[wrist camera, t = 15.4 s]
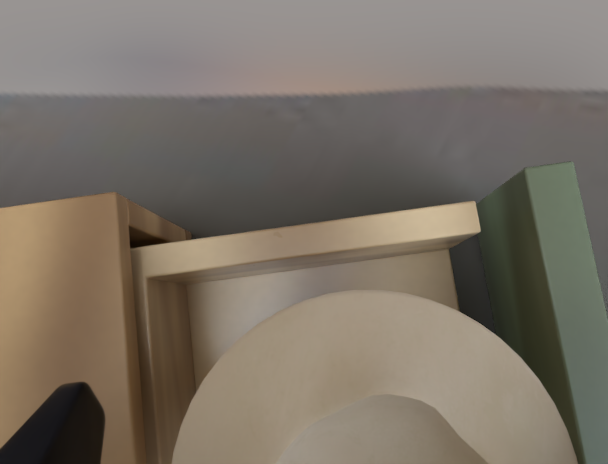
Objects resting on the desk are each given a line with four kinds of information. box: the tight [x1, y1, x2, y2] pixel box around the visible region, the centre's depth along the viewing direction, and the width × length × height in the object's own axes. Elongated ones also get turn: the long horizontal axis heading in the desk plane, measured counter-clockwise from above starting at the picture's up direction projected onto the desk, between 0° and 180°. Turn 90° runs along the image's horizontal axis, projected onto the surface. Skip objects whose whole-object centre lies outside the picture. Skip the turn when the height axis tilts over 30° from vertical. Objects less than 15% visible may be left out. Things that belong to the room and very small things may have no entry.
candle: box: [172, 290, 578, 464], centre depth 10 cm, size 6×6×10 cm
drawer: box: [130, 161, 608, 464], centre depth 14 cm, size 13×10×5 cm
